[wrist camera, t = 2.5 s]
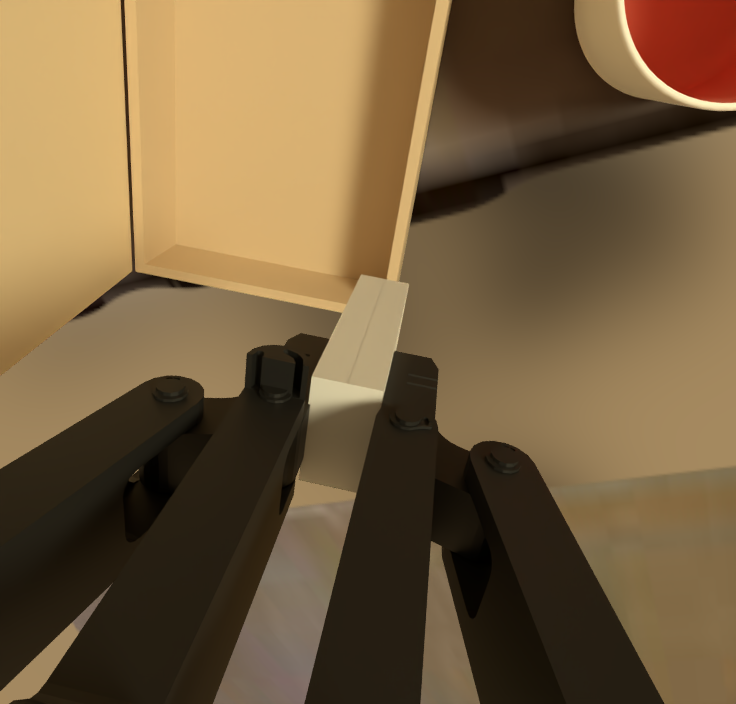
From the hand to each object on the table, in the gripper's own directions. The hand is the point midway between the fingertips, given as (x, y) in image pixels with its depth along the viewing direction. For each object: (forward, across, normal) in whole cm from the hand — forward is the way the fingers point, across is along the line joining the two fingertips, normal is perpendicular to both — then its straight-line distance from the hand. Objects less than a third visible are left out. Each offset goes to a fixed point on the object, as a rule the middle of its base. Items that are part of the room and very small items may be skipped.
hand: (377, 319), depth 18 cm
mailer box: (+20, -8, +4) cm, 22 cm away
